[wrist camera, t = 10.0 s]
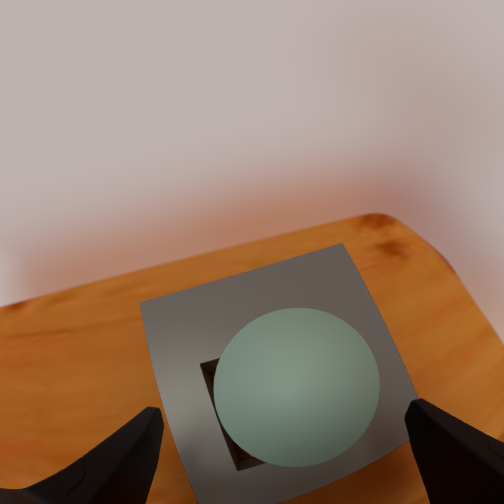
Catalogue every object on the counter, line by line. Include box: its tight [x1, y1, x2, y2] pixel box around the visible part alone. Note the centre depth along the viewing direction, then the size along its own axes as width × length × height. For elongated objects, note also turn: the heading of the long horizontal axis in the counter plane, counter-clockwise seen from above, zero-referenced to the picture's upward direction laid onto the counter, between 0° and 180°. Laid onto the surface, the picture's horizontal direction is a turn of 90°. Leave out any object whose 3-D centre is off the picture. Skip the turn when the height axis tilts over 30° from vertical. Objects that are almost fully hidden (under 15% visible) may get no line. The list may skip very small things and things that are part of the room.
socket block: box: [140, 243, 418, 504], centre depth 16 cm, size 14×14×4 cm
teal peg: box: [214, 308, 380, 467], centre depth 12 cm, size 5×5×12 cm
